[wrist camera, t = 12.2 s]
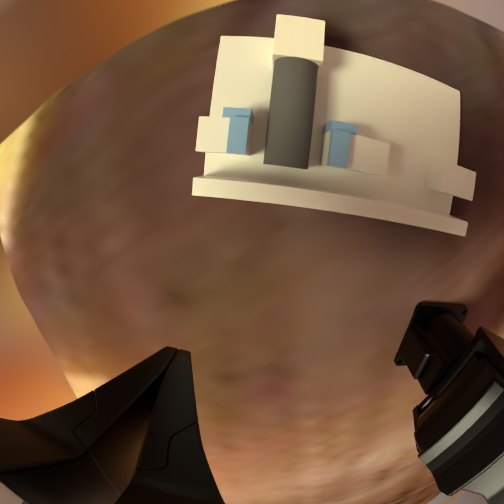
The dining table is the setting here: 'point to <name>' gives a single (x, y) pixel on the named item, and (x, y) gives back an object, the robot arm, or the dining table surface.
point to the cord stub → (293, 90)
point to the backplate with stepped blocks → (338, 139)
